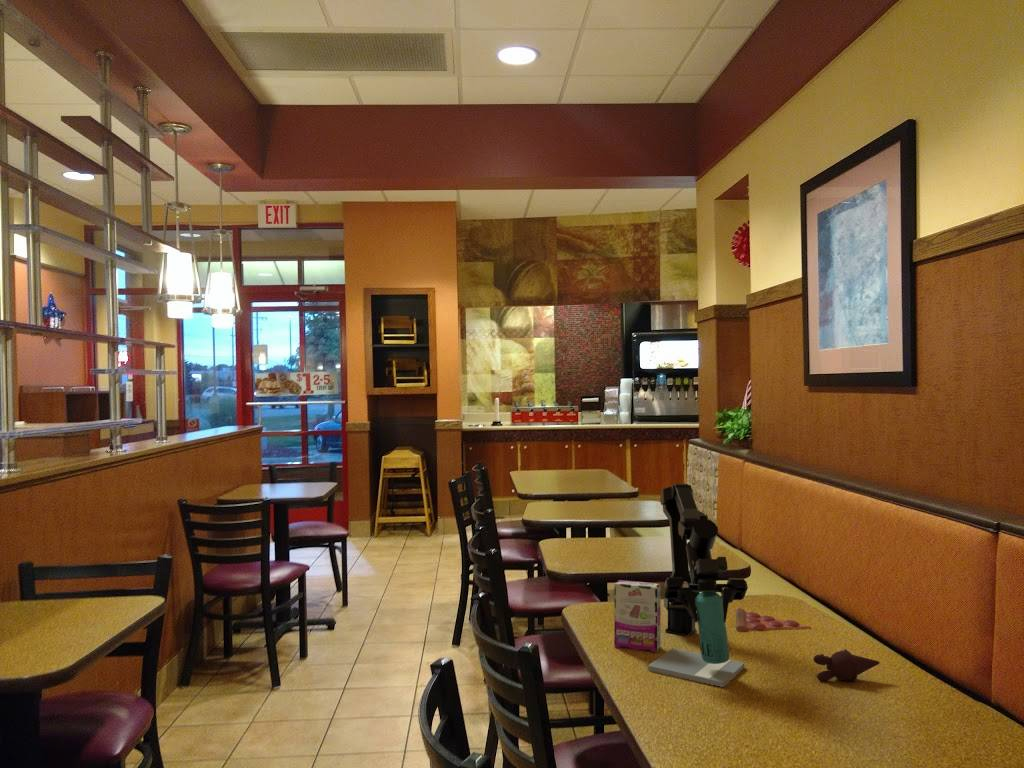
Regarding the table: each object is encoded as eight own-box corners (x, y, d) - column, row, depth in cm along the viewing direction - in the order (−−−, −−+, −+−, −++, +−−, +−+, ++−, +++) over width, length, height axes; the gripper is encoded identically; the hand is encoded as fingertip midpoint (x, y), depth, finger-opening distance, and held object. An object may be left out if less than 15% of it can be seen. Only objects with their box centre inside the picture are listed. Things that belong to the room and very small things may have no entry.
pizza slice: (736, 607, 229) (807, 613, 223) (735, 614, 229) (807, 621, 223) (736, 625, 211) (814, 632, 205) (735, 633, 211) (814, 641, 205)
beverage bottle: (734, 661, 178) (725, 575, 178) (725, 672, 173) (715, 584, 173) (707, 658, 182) (698, 574, 182) (697, 669, 176) (687, 582, 176)
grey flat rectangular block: (647, 670, 181) (648, 664, 181) (672, 652, 193) (672, 647, 193) (723, 687, 170) (723, 681, 170) (744, 667, 183) (744, 662, 183)
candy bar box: (661, 647, 197) (661, 583, 197) (657, 653, 192) (657, 587, 192) (618, 641, 201) (618, 578, 201) (613, 647, 197) (614, 583, 197)
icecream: (868, 645, 181) (806, 651, 180) (883, 647, 174) (819, 653, 173) (874, 676, 179) (811, 682, 178) (890, 680, 172) (825, 686, 171)
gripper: (666, 543, 181) (674, 603, 170) (746, 544, 181) (759, 604, 170) (660, 568, 189) (667, 627, 178) (736, 569, 189) (748, 629, 178)
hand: (710, 621), depth 176 cm, fingers closed on beverage bottle, 6 cm apart
